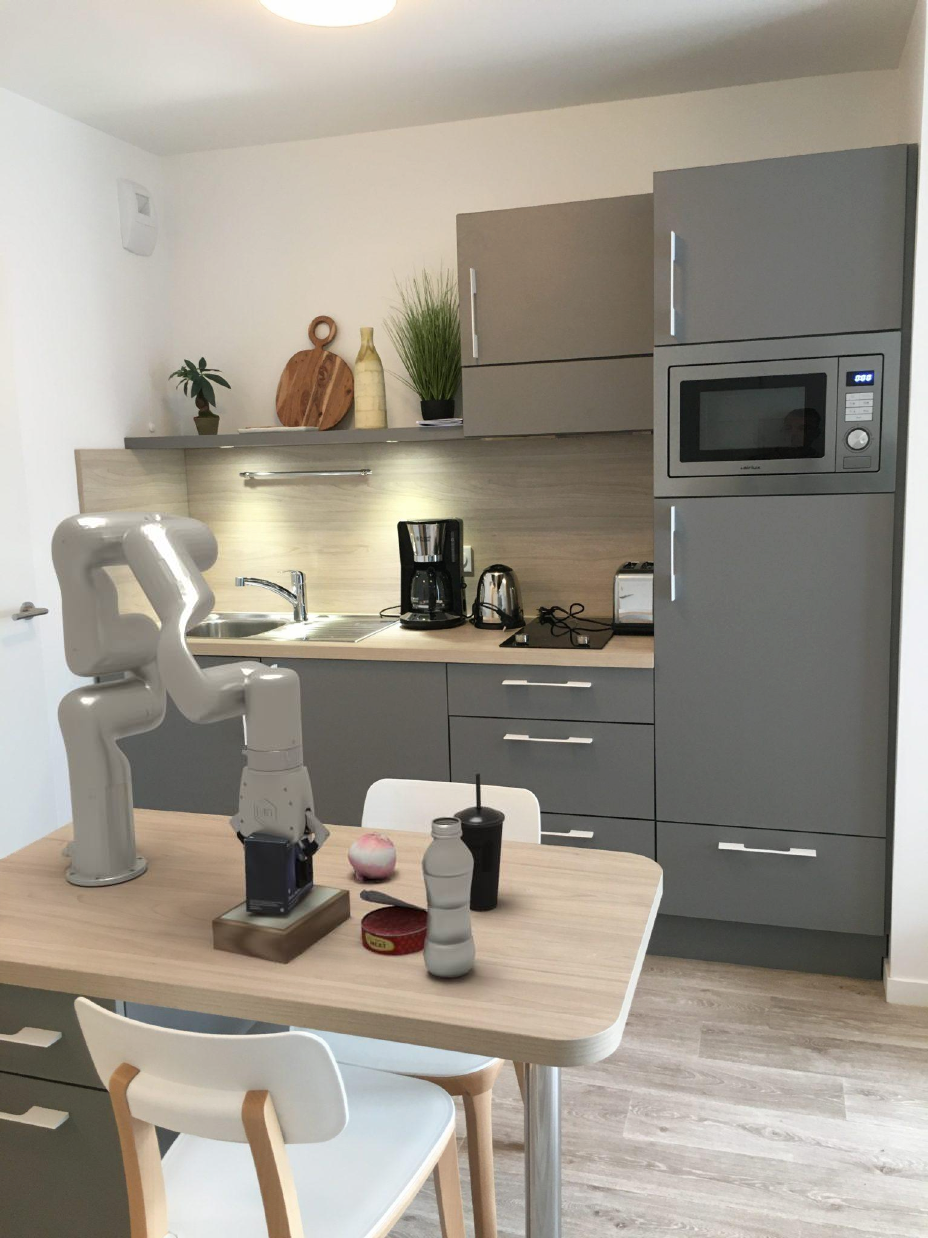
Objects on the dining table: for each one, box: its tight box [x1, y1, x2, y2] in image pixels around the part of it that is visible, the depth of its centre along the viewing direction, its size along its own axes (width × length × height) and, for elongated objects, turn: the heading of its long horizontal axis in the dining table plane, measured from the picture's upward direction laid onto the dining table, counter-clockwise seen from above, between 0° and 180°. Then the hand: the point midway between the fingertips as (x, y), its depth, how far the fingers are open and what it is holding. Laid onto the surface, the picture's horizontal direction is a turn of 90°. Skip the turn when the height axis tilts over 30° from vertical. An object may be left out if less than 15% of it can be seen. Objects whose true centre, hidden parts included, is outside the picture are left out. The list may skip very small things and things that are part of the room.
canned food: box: [359, 889, 428, 957], centre depth 138 cm, size 11×10×10 cm
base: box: [211, 883, 352, 964], centre depth 141 cm, size 12×16×4 cm
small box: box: [243, 832, 314, 915], centre depth 141 cm, size 11×6×10 cm, turn 168°
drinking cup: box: [452, 773, 506, 912], centre depth 148 cm, size 8×8×20 cm
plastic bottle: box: [421, 816, 476, 978], centre depth 127 cm, size 6×7×20 cm
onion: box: [347, 831, 397, 884], centre depth 161 cm, size 8×8×7 cm
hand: (280, 880), depth 141 cm, fingers closed on small box, 7 cm apart
